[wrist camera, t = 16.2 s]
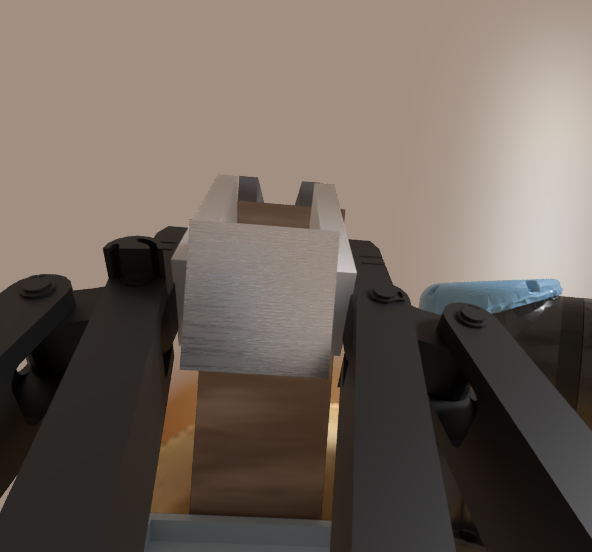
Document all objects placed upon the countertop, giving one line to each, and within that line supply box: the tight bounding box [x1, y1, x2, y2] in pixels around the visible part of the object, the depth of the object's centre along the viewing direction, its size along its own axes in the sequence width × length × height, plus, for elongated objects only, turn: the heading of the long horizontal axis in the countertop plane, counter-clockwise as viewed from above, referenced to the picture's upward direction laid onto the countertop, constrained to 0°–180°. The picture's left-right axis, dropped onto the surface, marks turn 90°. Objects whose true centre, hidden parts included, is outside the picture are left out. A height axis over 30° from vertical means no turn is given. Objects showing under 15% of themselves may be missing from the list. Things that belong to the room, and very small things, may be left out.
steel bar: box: [180, 219, 340, 379], centre depth 18 cm, size 20×3×3 cm, turn 3°
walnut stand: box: [189, 176, 345, 520], centre depth 40 cm, size 16×11×30 cm
